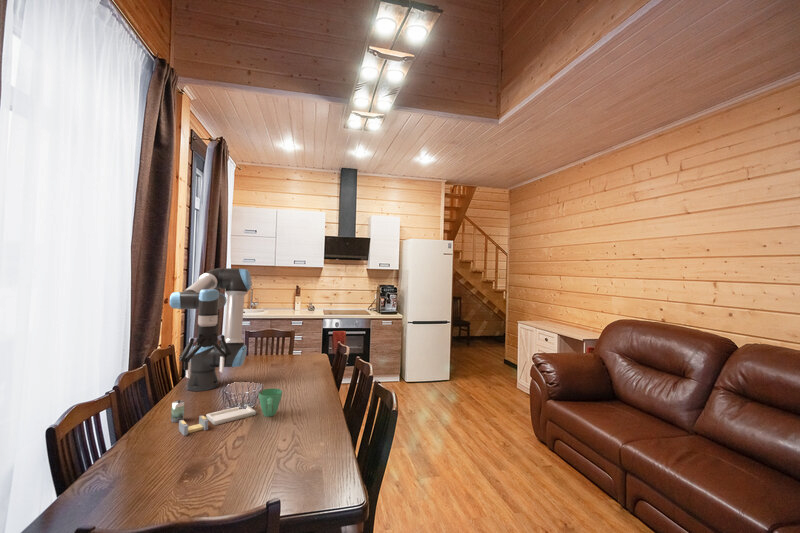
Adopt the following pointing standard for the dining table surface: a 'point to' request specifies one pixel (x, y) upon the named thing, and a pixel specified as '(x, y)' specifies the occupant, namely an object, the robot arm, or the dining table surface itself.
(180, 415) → the cell
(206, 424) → the cradle
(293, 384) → the dining table surface
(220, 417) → the tray
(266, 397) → the mug
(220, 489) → the dining table surface
